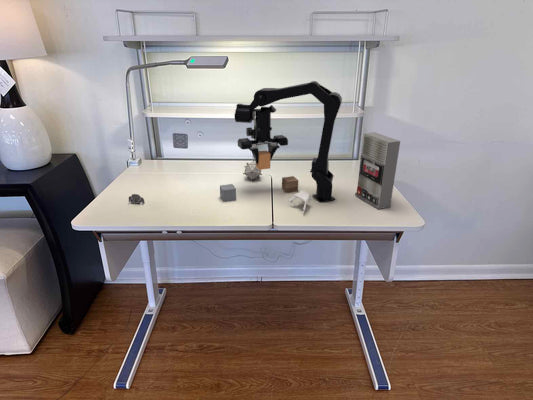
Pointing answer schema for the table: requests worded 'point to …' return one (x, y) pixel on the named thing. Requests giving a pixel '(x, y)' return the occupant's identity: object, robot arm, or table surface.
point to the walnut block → (290, 184)
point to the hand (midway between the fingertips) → (262, 163)
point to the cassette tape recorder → (377, 169)
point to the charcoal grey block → (228, 193)
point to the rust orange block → (263, 160)
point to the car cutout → (136, 199)
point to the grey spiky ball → (252, 170)
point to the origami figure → (301, 198)
